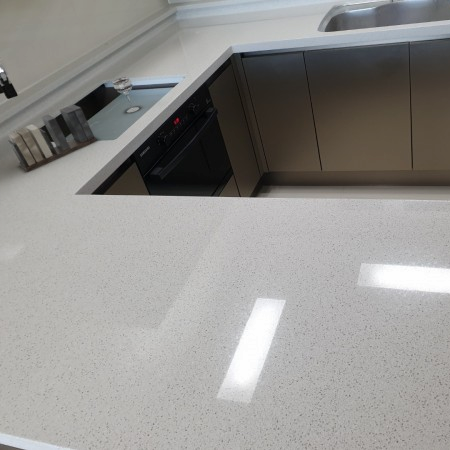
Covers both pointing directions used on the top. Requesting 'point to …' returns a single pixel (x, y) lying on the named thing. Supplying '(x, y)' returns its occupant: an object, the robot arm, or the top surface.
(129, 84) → the wineglass
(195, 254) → the top surface
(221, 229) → the top surface
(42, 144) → the cream book
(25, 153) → the book shelf
